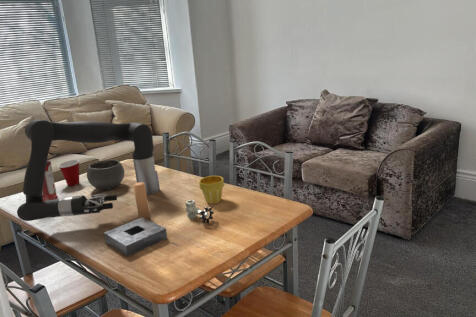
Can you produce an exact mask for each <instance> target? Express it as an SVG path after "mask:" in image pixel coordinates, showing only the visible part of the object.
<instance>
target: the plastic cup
mask: <svg viewBox="0 0 476 317" xmlns="http://www.w3.org/2000/svg"><path fill="white" fill-rule="evenodd" d="M80 162H81V161H80V159H71V160H67V161H63V162H61V163H59V164H57V168H59V170H60V171H61V173H62V176H63V177H64V180H65V182H66V185H67V186H68V187H75V186H77V185H79V184H80Z"/></svg>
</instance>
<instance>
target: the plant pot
mask: <svg viewBox="0 0 476 317" xmlns="http://www.w3.org/2000/svg"><path fill="white" fill-rule="evenodd" d="M198 182H199V183H198V184H199V188H200V190H201V191H202V194H203V196H204V199H205V200H204V201H205V202H206V203H207V204H210V205H211V204H218V203H219V202H221V201H222V198H223V197H222V196H223V188H224V186H225V182H224V177H222V176H220V175H208V176H205V177H202V178H201V179H199V181H198Z"/></svg>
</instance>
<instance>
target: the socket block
mask: <svg viewBox="0 0 476 317" xmlns="http://www.w3.org/2000/svg"><path fill="white" fill-rule="evenodd" d="M167 233H168V232H167V228H166V227H164V226H162V225H159V224H158V223H156V222H153V221H151V220H150V219H149V220H147V219H145V218H143V217H141V218H139V217H138V218H137V219H134V220H132V221H129V222H127V223H124V224H122V225H119V226H117V227H114V228H112V229H109V230H106V231H105V232H103V235H104V240H105V243H106V244H107V245H108V246H111V247H112V248H114V249H115V250H117V251H118V252H120V253H122V254H123V255H124V256H126V257H130V256H132V255H134V254H136V253H139V252H141V251H143V250H145V249H148V248H150V247H152V246H154V245H157V244H159V243H161V242H163V241H165V240H167V239H168V234H167Z"/></svg>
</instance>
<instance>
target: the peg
mask: <svg viewBox="0 0 476 317" xmlns="http://www.w3.org/2000/svg"><path fill="white" fill-rule="evenodd" d="M132 186H133V192H134V198H135V203H136V209H137V215H138V219H139V218H141V217H143V218H145V219H147V220H149V221H150V220H151V215H150V209H149V208H150V207H149V202H148V195H146V189H145V183H144V182H139V183H137V182H136V183H133V185H132Z"/></svg>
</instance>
